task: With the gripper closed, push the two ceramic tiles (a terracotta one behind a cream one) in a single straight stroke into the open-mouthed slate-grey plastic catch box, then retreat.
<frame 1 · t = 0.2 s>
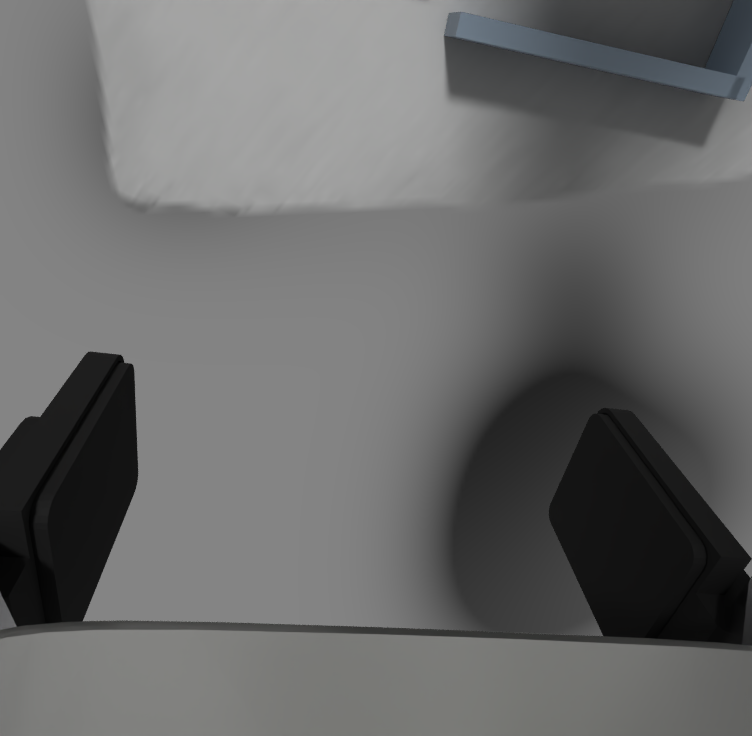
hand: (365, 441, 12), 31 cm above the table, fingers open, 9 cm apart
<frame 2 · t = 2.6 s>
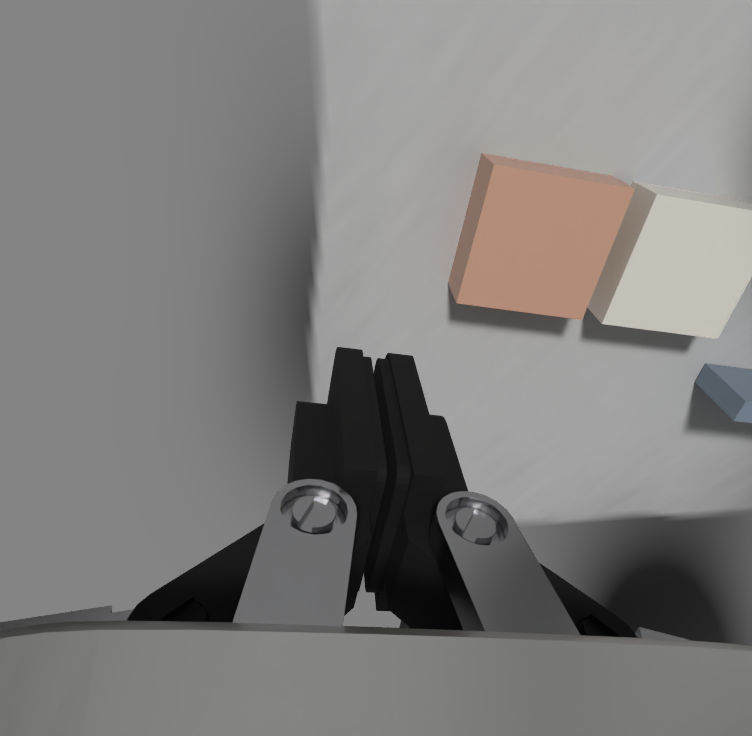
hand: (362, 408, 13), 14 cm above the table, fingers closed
cream tile: (661, 252, 27), on the table
terracotta tile: (524, 229, 26), on the table
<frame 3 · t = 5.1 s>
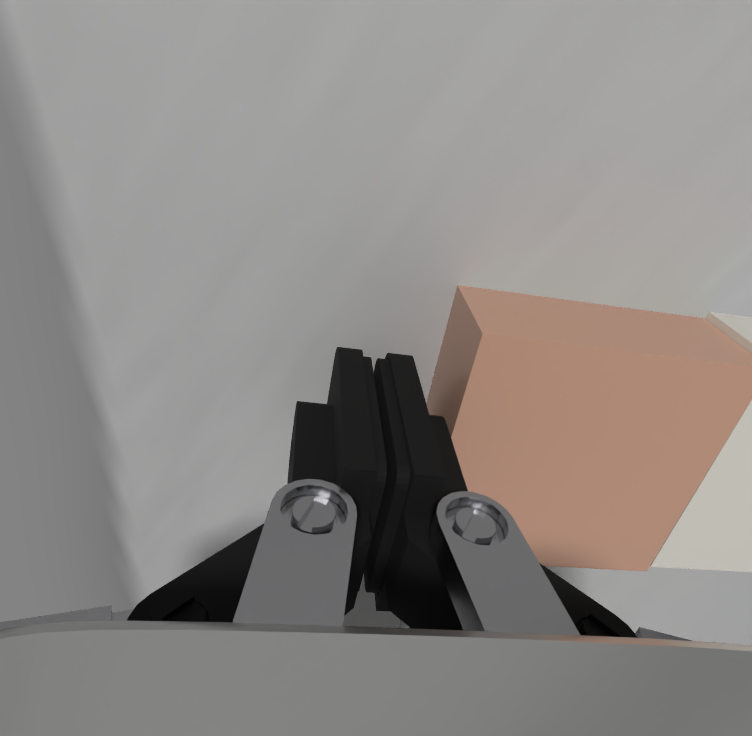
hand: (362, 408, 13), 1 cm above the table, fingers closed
cream tile: (750, 421, 15), on the table
terracotta tile: (539, 405, 14), on the table, touching gripper
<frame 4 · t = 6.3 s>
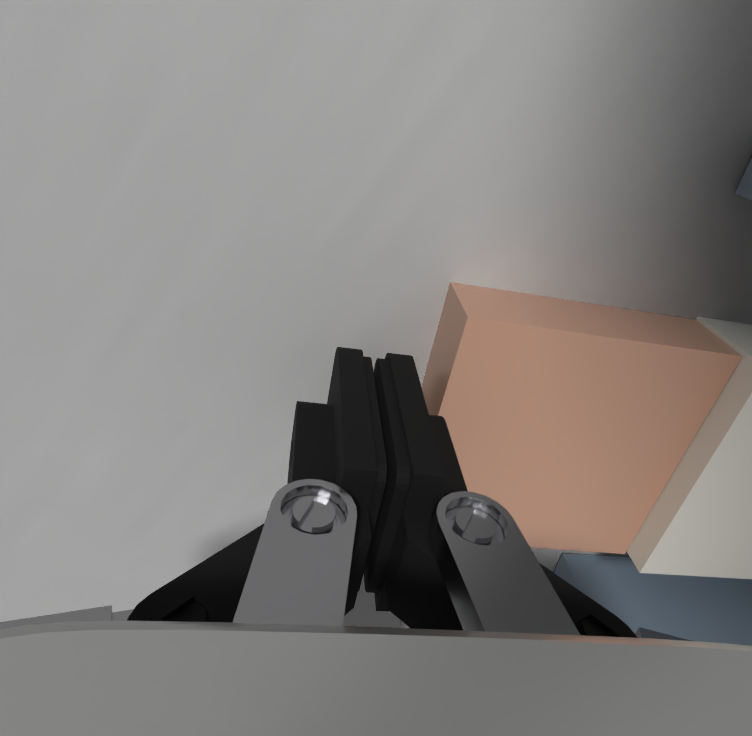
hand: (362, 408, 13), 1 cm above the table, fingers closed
cream tile: (739, 427, 15), on the table, touching terracotta tile
terracotta tile: (524, 392, 15), on the table, touching cream tile, gripper
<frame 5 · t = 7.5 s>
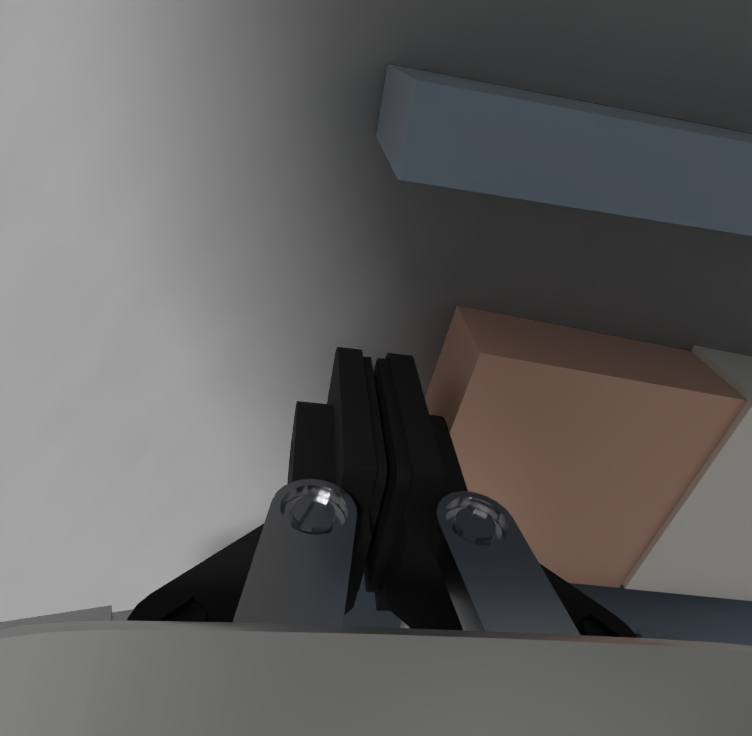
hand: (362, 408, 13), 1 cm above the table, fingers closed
cream tile: (727, 452, 16), on the table
catch box: (682, 414, 15), on the table
terracotta tile: (526, 422, 15), on the table, touching gripper
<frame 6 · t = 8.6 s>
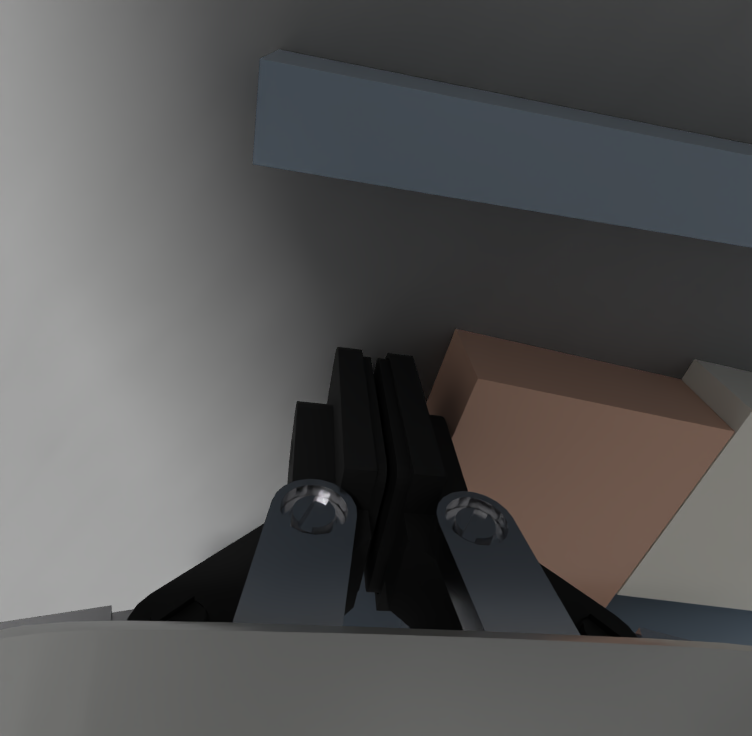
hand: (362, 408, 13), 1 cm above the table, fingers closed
cream tile: (719, 462, 16), on the table
catch box: (612, 415, 14), on the table
terracotta tile: (518, 443, 15), on the table
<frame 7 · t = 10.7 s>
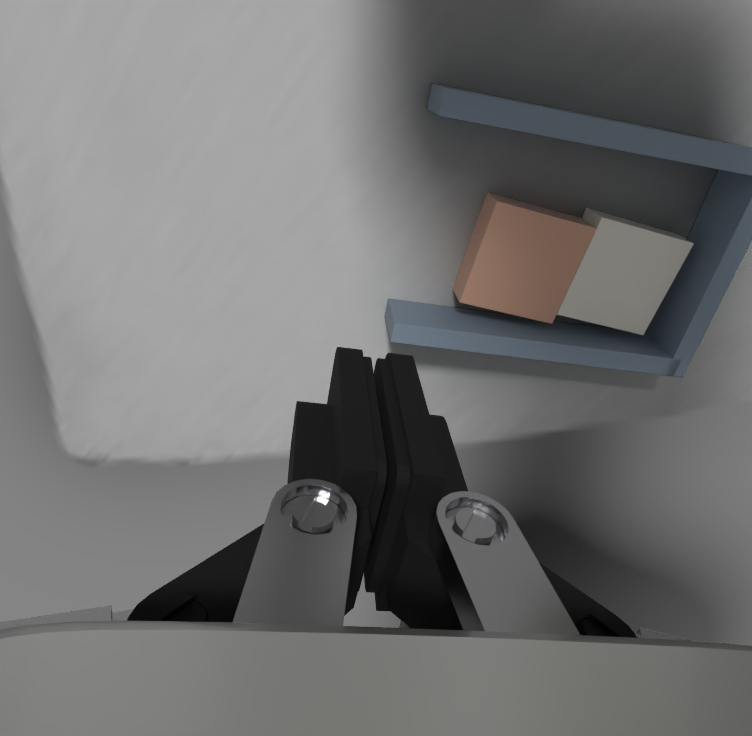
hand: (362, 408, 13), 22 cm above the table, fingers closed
cream tile: (605, 265, 35), on the table
catch box: (553, 235, 34), on the table
terracotta tile: (513, 252, 34), on the table
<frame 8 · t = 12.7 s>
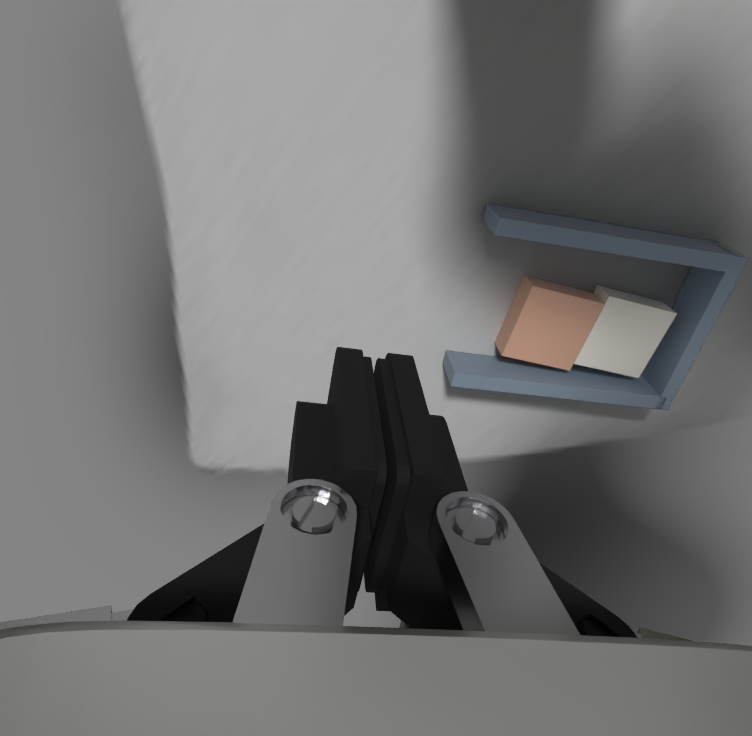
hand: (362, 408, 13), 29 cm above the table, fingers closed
cream tile: (610, 324, 46), on the table
catch box: (571, 304, 45), on the table
terracotta tile: (541, 316, 45), on the table
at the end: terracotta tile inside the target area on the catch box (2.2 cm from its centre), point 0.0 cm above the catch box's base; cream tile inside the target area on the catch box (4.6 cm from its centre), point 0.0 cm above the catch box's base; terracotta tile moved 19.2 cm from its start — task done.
